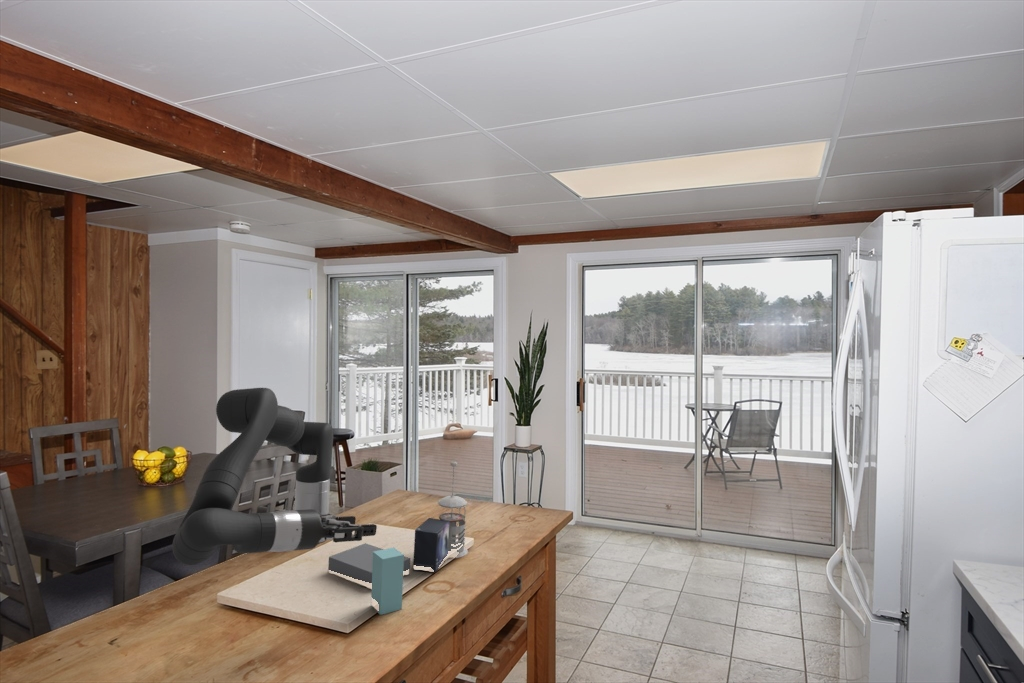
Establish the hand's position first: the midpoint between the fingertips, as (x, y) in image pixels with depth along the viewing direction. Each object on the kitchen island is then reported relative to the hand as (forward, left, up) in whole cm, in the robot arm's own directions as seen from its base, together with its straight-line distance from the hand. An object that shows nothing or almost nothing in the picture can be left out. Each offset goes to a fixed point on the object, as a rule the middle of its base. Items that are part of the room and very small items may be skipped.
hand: (364, 525), depth 126 cm
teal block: (+2, +6, -19) cm, 20 cm away
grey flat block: (-14, +16, -19) cm, 29 cm away
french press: (-8, +41, -19) cm, 46 cm away
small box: (-6, +30, -20) cm, 36 cm away
